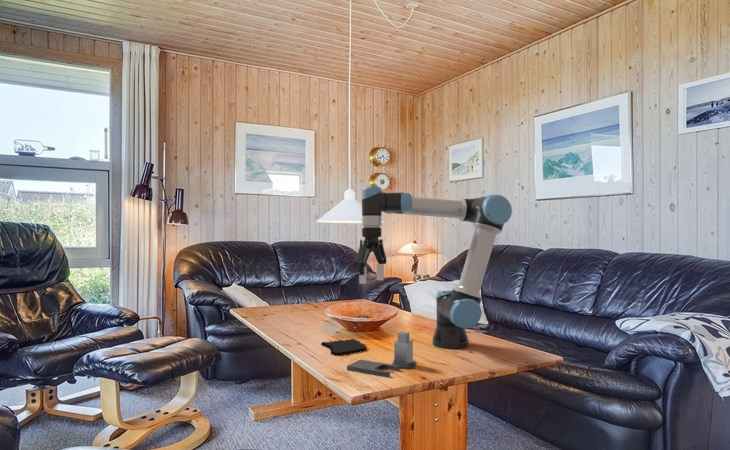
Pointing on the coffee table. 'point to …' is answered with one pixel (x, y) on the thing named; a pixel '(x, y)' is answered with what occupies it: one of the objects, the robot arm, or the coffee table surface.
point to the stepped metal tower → (403, 349)
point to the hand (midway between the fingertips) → (371, 282)
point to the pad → (406, 366)
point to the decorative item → (344, 347)
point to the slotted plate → (372, 367)
